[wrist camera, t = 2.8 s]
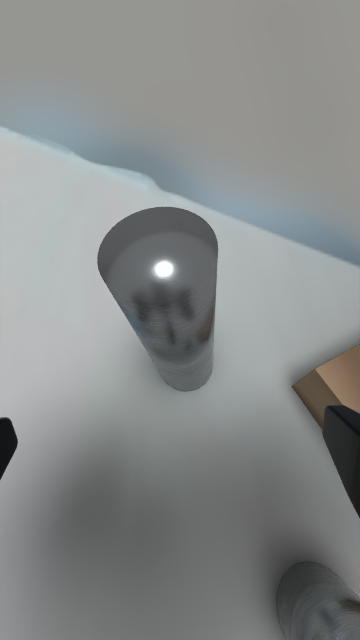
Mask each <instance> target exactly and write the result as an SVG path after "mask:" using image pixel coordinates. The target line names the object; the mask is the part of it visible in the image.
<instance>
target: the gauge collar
mask: <svg viewBox="0 0 360 640" xmlns="http://www.w3.org/2000/svg"><path fill="white" fill-rule="evenodd" d="M292 387H293V388H294V390H295V391H296V393H297V394H298V395H299V397H300V398H301V400H302V401H303V403H304V404H305V405H306V407H307V408H308V410H309V411H310V412H311V414H312V415H313V417H314V418H315V419H316V421H317V422H318V424H319V425H320V427H321V428H323V419H324V410H325V407H326V406H327V405H337V404H342V405H345V406H347V407H349V408H351V409H352V410H354V411H356V412H358V413H360V344H359V345H357V346H356V347H354V348H352V349H350V350H348V351H347V352H345V353H343V354H341V355H339V356H338V357H336V358H334V359H332V360H330V361H329V362H327V363H325V364H323V365H321V366H320V367H318V368H316V369H314V370H313V371H312V372H311V373H309V374H308V375H307V376H305V377H304V378H303V379H301V380H300V381H299V382H297V383H296V384H295V385H294V386H292Z"/></svg>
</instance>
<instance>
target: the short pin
mask: <svg viewBox="0 0 360 640" xmlns="http://www.w3.org/2000/svg"><path fill="white" fill-rule="evenodd" d="M277 611H278V617H279V621H280V624H281V628H282V630H283V632H284V635H285V637H286V640H360V598H359V597H358V596H357V595H356V594H355V593H354V592H353V591H352V590H351V589H350V588H349V587H348V586H347V585H345V584H344V583H343V582H342V581H341V580H340V579H339V578H338V577H337V576H336V575H335V574H334V573H333V572H332V571H330V570H329V569H327V568H326V567H324V566H322V565H320V564H317V563H313V562H302V563H298V564H296V565H294V566H292V567H291V568H290V569H288V571H287V572H286V573H285V574H284V576H283V577H282V580H281V582H280V585H279V588H278V593H277Z"/></svg>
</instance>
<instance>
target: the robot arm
mask: <svg viewBox="0 0 360 640" xmlns="http://www.w3.org/2000/svg"><path fill="white" fill-rule="evenodd" d="M322 432H323V437H324V440H325V442H326V445H327V447H328V450H329V452H330V454H331V457H332V459H333V461H334V464H335V466H336V468H337V471H338V473H339V476H340V478H341V480H342V483H343V485H344V487H345V490H346V492H347V494H348V496H349V498H350V500H351V502H352V504H353V506H354V508H355V510H356V512H357V514H358V516H359V518H360V413H358V412H356V411H354V410H352V409H351V408H349V407H347V406H345V405H342V404H337V405H327V406H326V407H325V410H324V419H323V428H322ZM17 444H18V439H17V436H16V433H15V430H14V428H13V425H12V422H11V420H10V419H9V418H7V417H1V418H0V480H1V478H2V476H3V474H4V472H5V470H6V468H7V466H8V464H9V462H10V460H11V458H12V456H13V454H14V452H15V450H16V448H17Z"/></svg>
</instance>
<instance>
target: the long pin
mask: <svg viewBox="0 0 360 640" xmlns="http://www.w3.org/2000/svg"><path fill="white" fill-rule="evenodd" d="M217 258H218V243H217V239H216V235H215V233H214V231H213V229H212V228H211V227H210V225H209V224H208V223H207V222H206V221H205V220H204V219H202V218H201V217H200V216H198V215H196V214H195V213H192V212H190V211H187V210H184V209H180V208H174V207H155V208H150V209H145V210H142V211H139V212H136V213H134V214H132V215H130V216H128V217H126V218H124V219H123V220H121V221H120V222H118V223H117V224H116V225H115V226H114V227H113V228H112V229H111V230H110V231H109V232H108V233H107V235H106V236H105V238H104V239H103V241H102V243H101V245H100V248H99V252H98V262H97V263H98V269H99V272H100V275H101V277H102V278H103V280H104V282H105V283H106V285H107V287H108V288H109V290H110V292H111V293H112V295H113V297H114V298H115V300H116V301H117V303H118V305H119V306H120V308H121V310H122V311H123V313H124V314H125V316H126V318H127V319H128V321H129V323H130V324H131V326H132V327H133V329H134V331H135V332H136V334H137V336H138V337H139V339H140V340H141V342H142V344H143V345H144V347H145V349H146V350H147V352H148V354H149V355H150V357H151V358H152V360H153V362H154V363H155V365H156V367H157V368H158V370H159V371H160V373H161V375H162V376H163V378H164V380H165V381H166V382H167V383H168V384H169V385H170V386H171V387H173V388H174V389H177V390H180V391H193V390H196V389H198V388H200V387H201V386H203V385H204V384H205V383H206V382H207V380H208V379H209V377H210V375H211V372H212V362H213V342H214V321H215V300H216V279H217Z"/></svg>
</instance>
